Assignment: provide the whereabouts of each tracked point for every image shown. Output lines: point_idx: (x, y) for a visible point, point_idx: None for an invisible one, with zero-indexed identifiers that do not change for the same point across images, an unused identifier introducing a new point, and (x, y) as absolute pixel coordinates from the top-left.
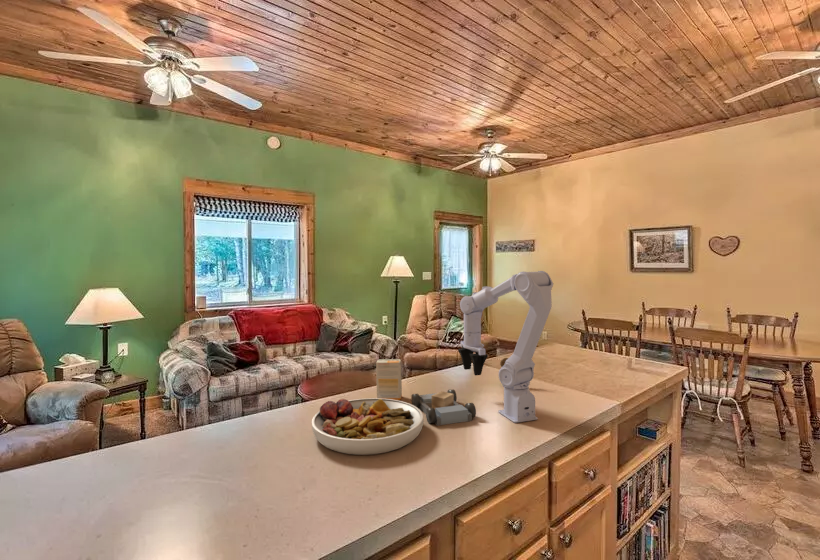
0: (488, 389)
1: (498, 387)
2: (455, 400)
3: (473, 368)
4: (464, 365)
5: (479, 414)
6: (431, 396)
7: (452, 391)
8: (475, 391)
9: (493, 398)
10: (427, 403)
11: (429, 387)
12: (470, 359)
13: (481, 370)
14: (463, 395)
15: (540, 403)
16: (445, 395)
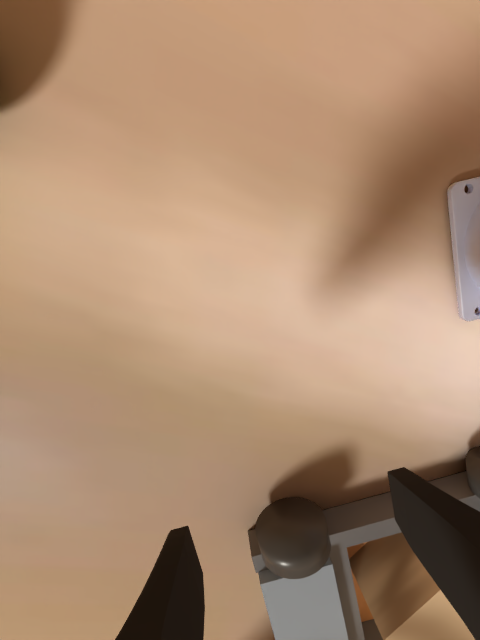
0: (67, 263)
1: (19, 177)
2: (317, 509)
3: (440, 587)
4: (203, 622)
5: (460, 411)
6: (317, 638)
7: (318, 559)
8: (107, 357)
9: (249, 282)
10: (364, 638)
11: (19, 595)
12: (172, 629)
13: (440, 493)
14: (179, 438)
15: (381, 6)
16: (458, 625)
